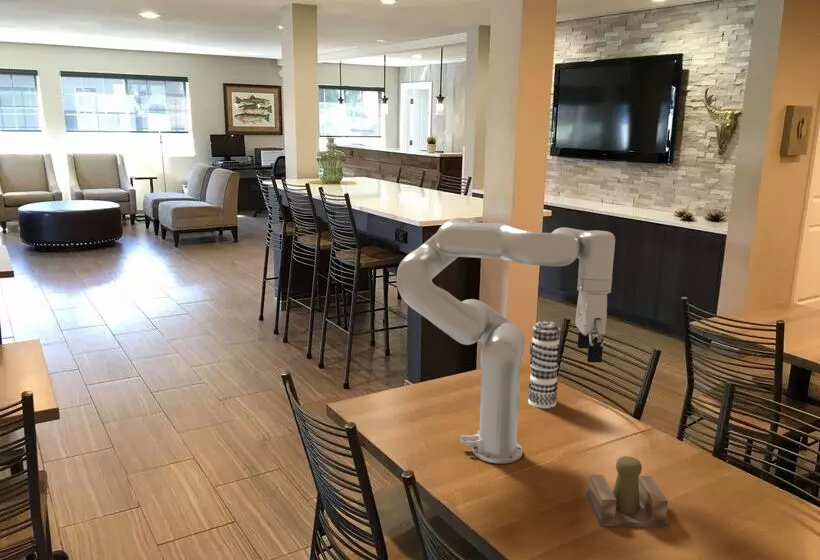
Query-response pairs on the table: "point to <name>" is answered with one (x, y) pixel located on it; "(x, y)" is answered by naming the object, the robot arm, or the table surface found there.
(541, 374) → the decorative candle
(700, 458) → the table surface
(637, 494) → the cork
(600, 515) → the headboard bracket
